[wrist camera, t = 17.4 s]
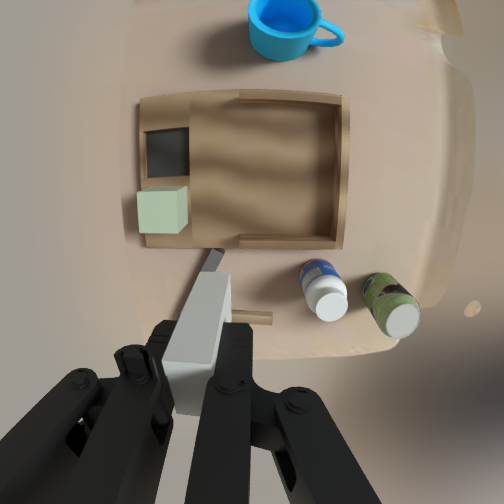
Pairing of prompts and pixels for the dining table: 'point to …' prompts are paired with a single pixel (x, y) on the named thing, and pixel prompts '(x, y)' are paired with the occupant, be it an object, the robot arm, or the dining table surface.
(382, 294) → the beverage can
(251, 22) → the mug
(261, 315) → the dowel
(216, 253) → the crook tool
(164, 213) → the block
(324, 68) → the dining table surface
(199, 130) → the cubby deck
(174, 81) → the dining table surface
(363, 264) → the dining table surface
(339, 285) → the pill bottle
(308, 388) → the robot arm
